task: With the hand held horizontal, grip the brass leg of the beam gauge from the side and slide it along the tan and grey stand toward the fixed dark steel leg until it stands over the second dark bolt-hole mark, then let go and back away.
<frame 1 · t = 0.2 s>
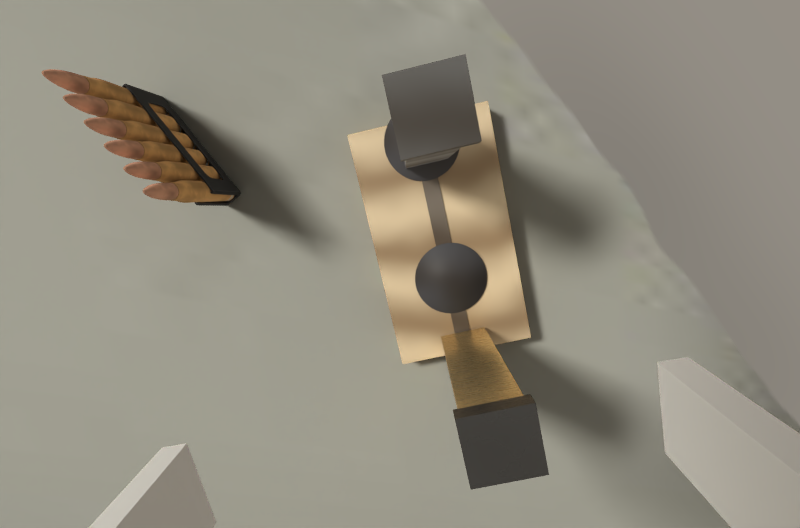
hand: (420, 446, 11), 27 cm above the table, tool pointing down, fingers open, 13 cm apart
brass leg: (480, 388, 30), point 9 cm above the table, slide at 7.0 cm
tan and grey stand: (440, 237, 38), on the table
ammunition clip: (196, 152, 37), on the table
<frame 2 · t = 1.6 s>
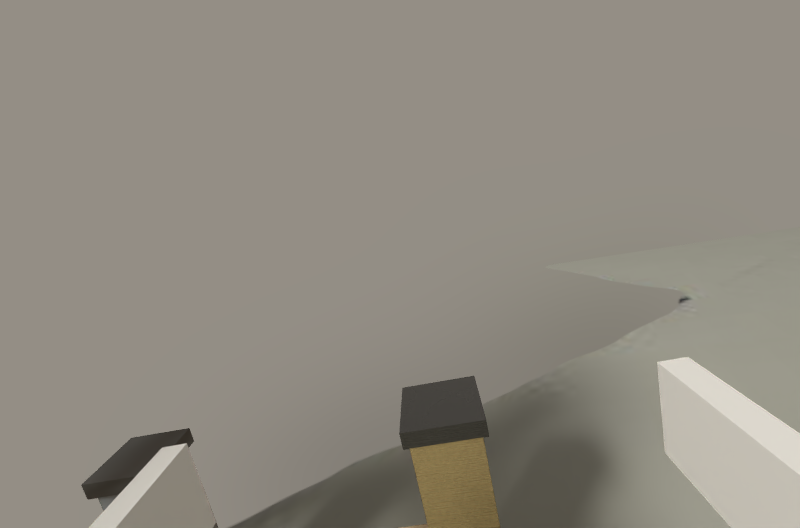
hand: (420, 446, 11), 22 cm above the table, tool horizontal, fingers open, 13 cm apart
brass leg: (461, 502, 25), point 9 cm above the table, slide at 7.0 cm
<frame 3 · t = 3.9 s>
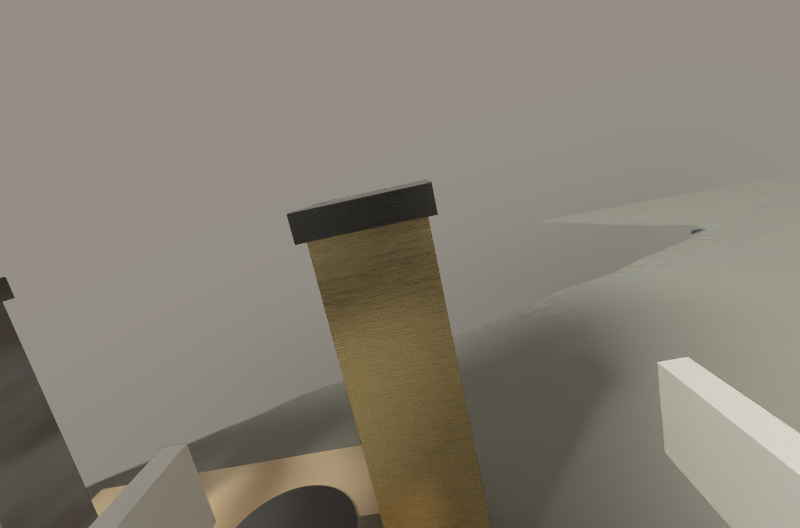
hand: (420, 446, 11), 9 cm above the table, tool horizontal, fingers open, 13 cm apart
brass leg: (406, 367, 16), point 9 cm above the table, slide at 7.0 cm
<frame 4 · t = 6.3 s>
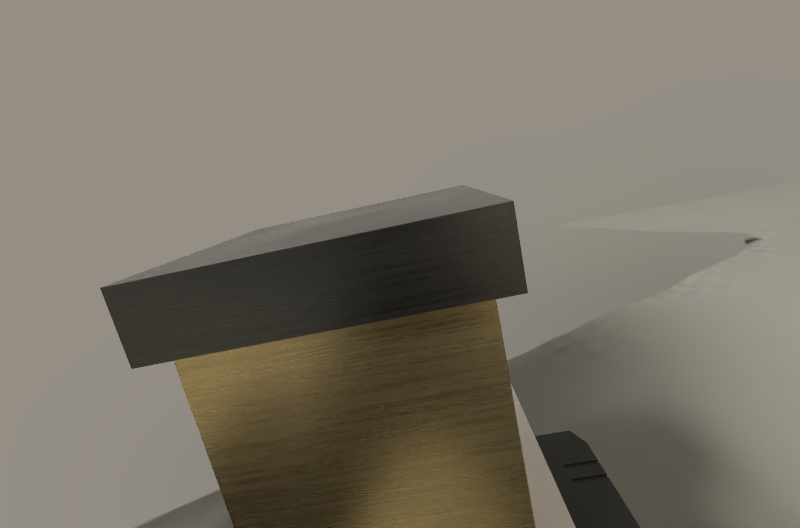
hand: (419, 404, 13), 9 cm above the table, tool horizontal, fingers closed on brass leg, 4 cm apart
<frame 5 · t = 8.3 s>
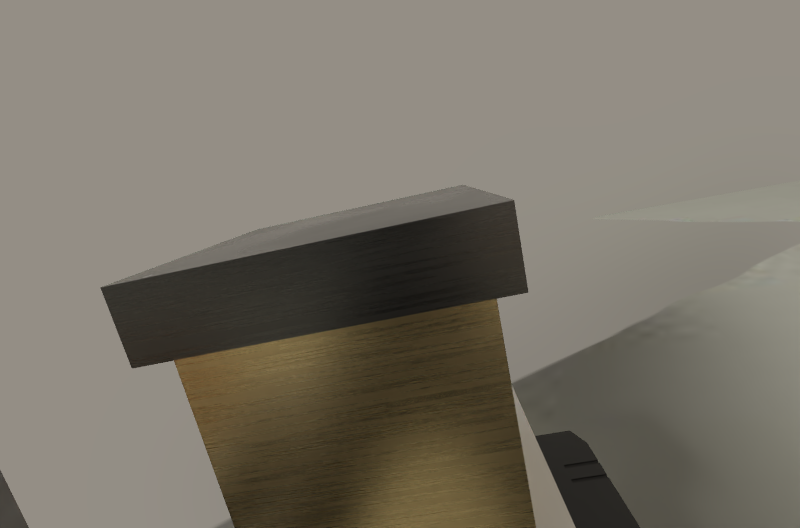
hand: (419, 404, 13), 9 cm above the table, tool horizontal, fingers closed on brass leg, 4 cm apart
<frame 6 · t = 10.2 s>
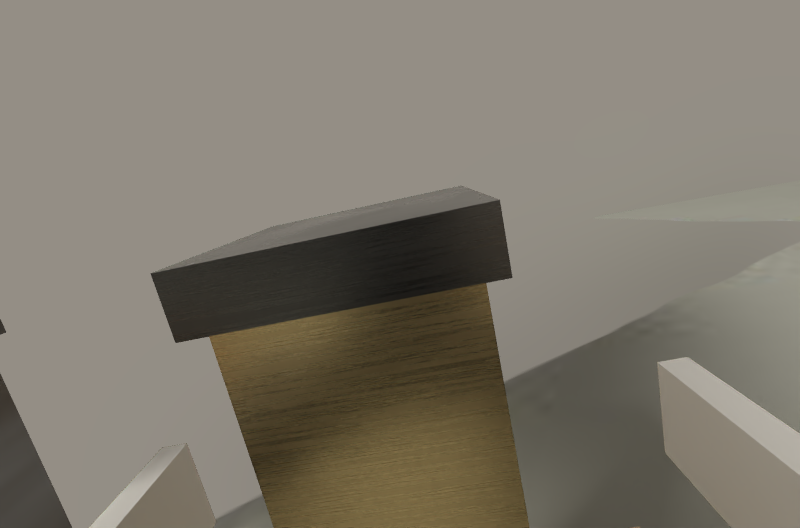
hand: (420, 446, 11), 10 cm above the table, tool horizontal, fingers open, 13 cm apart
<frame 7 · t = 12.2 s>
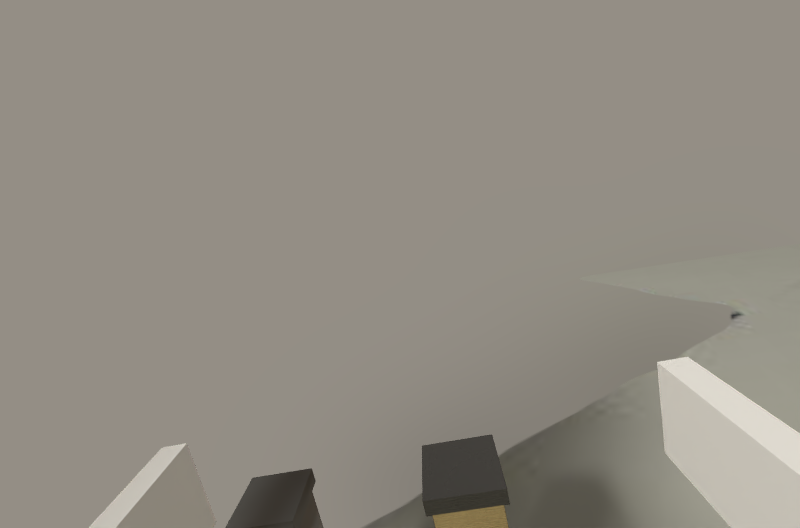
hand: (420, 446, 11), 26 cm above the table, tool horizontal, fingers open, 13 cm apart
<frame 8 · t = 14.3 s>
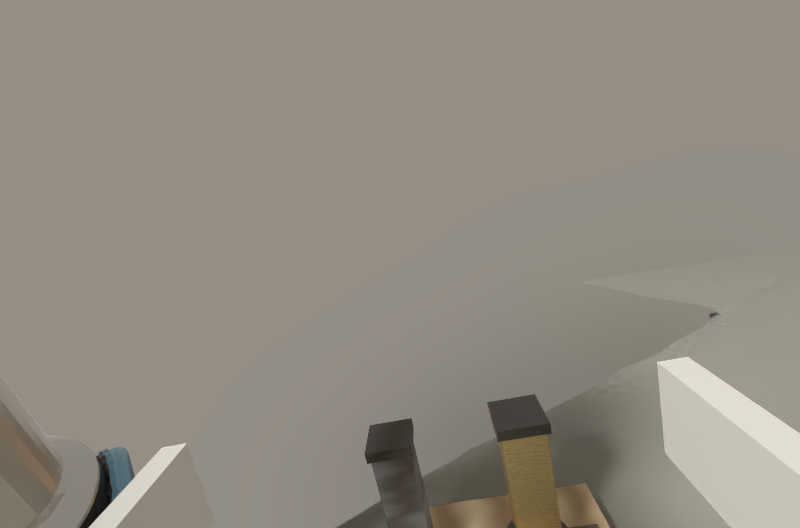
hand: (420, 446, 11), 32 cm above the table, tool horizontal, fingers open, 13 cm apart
brass leg: (527, 476, 39), point 9 cm above the table, slide at 0.0 cm
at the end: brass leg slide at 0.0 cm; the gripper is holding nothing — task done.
